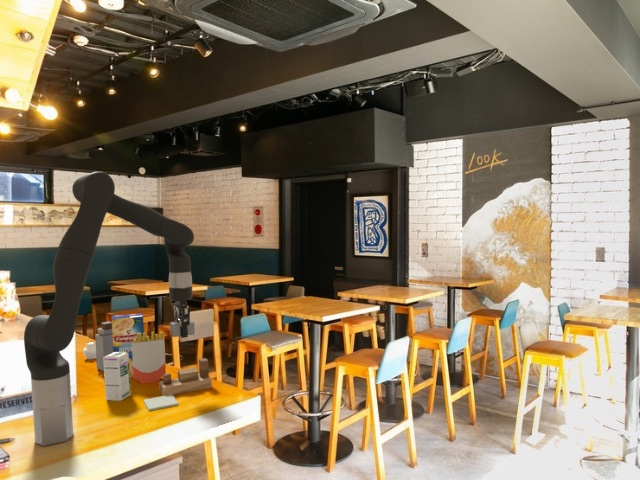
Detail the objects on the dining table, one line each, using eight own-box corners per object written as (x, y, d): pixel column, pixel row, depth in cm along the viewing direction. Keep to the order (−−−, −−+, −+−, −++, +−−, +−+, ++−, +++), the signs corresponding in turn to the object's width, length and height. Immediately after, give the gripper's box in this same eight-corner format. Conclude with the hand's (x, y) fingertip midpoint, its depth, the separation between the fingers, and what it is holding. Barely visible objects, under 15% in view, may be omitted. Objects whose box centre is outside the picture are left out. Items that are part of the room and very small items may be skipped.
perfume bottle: (96, 368, 200) (94, 323, 199) (113, 364, 205) (111, 320, 204) (104, 371, 195) (102, 325, 194) (121, 367, 200) (119, 322, 199)
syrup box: (121, 401, 163) (119, 356, 163) (105, 400, 165) (102, 356, 164) (131, 394, 169) (129, 351, 168) (115, 394, 170) (113, 351, 169)
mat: (178, 404, 159) (178, 403, 159) (148, 411, 155) (148, 409, 154) (172, 396, 167) (172, 394, 167) (143, 401, 162) (143, 399, 162)
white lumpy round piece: (97, 355, 218) (96, 339, 218) (101, 358, 214) (100, 341, 213) (81, 358, 215) (80, 342, 214) (85, 361, 210) (84, 344, 209)
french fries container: (133, 381, 183) (130, 331, 182) (164, 376, 187) (162, 328, 186) (134, 385, 179) (131, 334, 178) (166, 380, 183) (163, 330, 182)
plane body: (211, 387, 174) (210, 361, 173) (163, 396, 166) (162, 369, 166) (206, 381, 180) (204, 356, 180) (159, 390, 173) (158, 364, 172)
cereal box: (146, 374, 190) (143, 316, 189) (114, 379, 186) (111, 319, 185) (145, 369, 196) (142, 313, 195) (114, 373, 192) (111, 316, 191)
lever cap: (194, 334, 170) (194, 322, 170) (173, 337, 167) (173, 325, 167) (190, 331, 175) (190, 320, 175) (170, 334, 171) (169, 322, 171)
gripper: (164, 284, 175) (166, 333, 175) (174, 288, 162) (175, 341, 163) (186, 282, 178) (188, 330, 179) (197, 286, 166) (199, 338, 166)
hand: (182, 335), depth 171 cm, fingers closed on lever cap, 5 cm apart
